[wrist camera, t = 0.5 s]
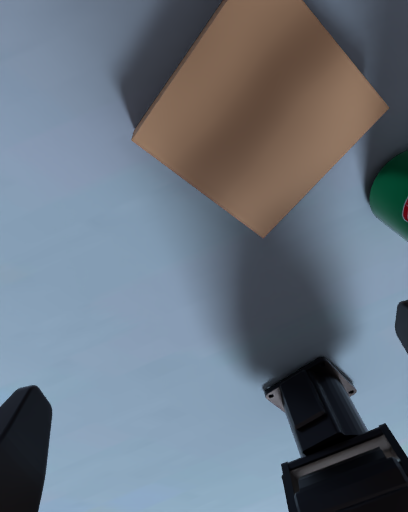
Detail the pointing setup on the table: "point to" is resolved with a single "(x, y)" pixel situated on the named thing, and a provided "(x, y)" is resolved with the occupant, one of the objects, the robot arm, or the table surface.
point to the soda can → (392, 195)
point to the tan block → (259, 109)
